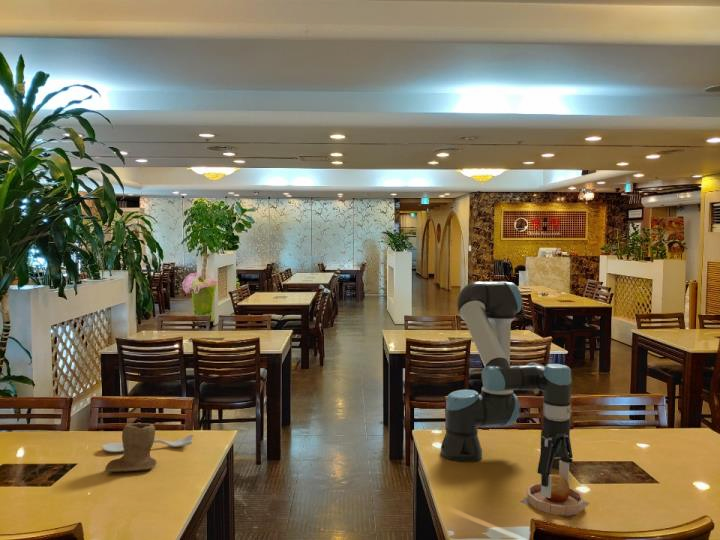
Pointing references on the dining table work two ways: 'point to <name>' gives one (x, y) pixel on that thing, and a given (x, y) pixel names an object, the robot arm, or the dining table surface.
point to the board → (558, 515)
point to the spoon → (181, 442)
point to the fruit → (559, 489)
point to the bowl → (558, 508)
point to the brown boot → (135, 449)
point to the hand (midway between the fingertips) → (555, 489)
